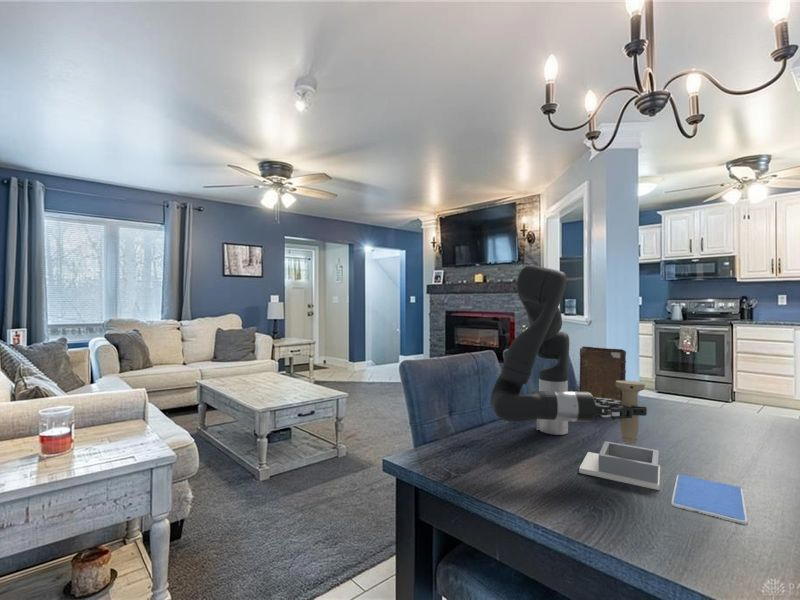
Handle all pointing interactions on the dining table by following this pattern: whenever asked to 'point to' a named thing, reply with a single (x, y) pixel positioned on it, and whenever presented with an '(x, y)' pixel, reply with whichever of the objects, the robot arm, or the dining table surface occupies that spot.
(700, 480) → the tablet computer
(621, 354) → the book
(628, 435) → the handle
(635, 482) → the open box
